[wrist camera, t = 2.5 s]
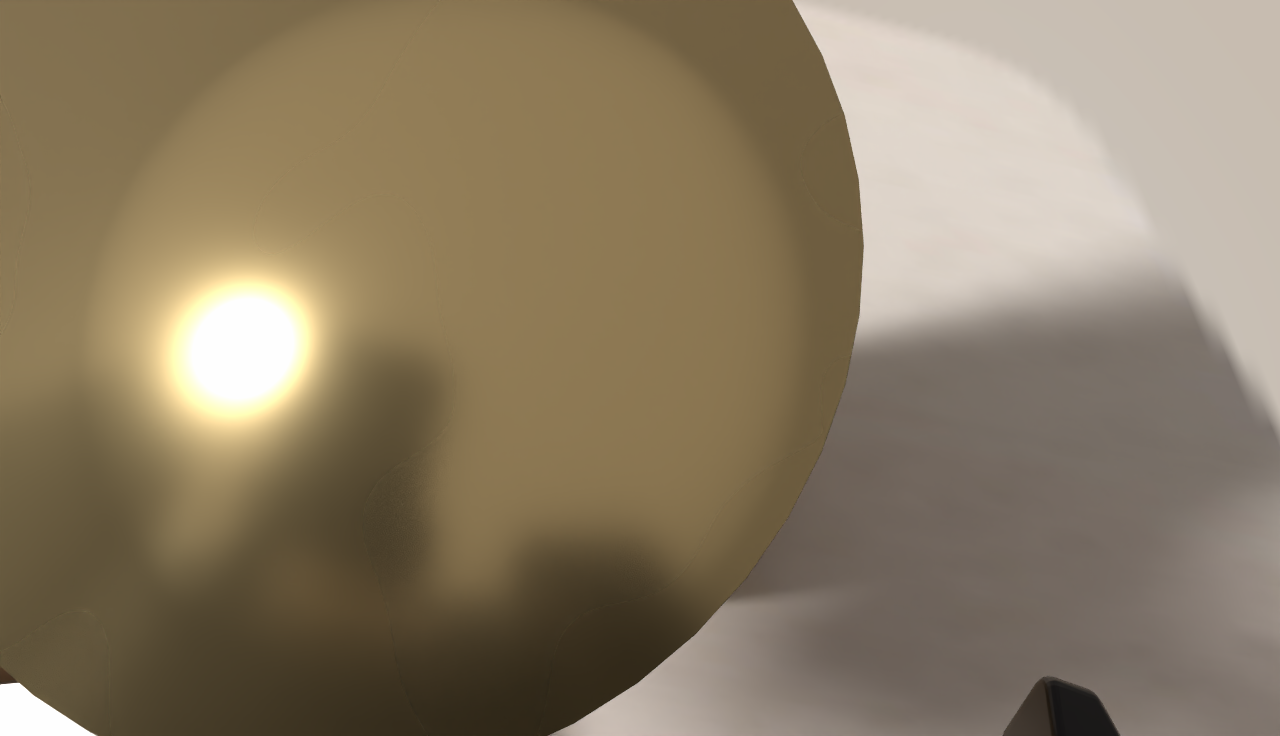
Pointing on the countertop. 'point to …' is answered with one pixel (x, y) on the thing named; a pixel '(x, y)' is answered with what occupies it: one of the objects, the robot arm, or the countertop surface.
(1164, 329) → the countertop surface
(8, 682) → the gray square planter
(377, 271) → the hinge pin
